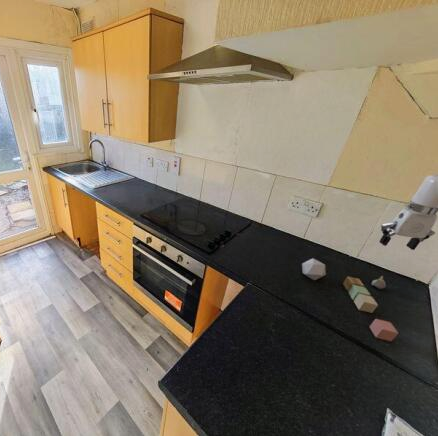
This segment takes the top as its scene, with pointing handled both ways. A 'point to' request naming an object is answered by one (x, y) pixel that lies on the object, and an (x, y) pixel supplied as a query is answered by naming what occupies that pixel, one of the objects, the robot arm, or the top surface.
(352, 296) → the block
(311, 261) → the die
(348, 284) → the block
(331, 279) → the top surface
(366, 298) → the block
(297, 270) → the top surface
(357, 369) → the top surface
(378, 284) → the figurine
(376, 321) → the block
